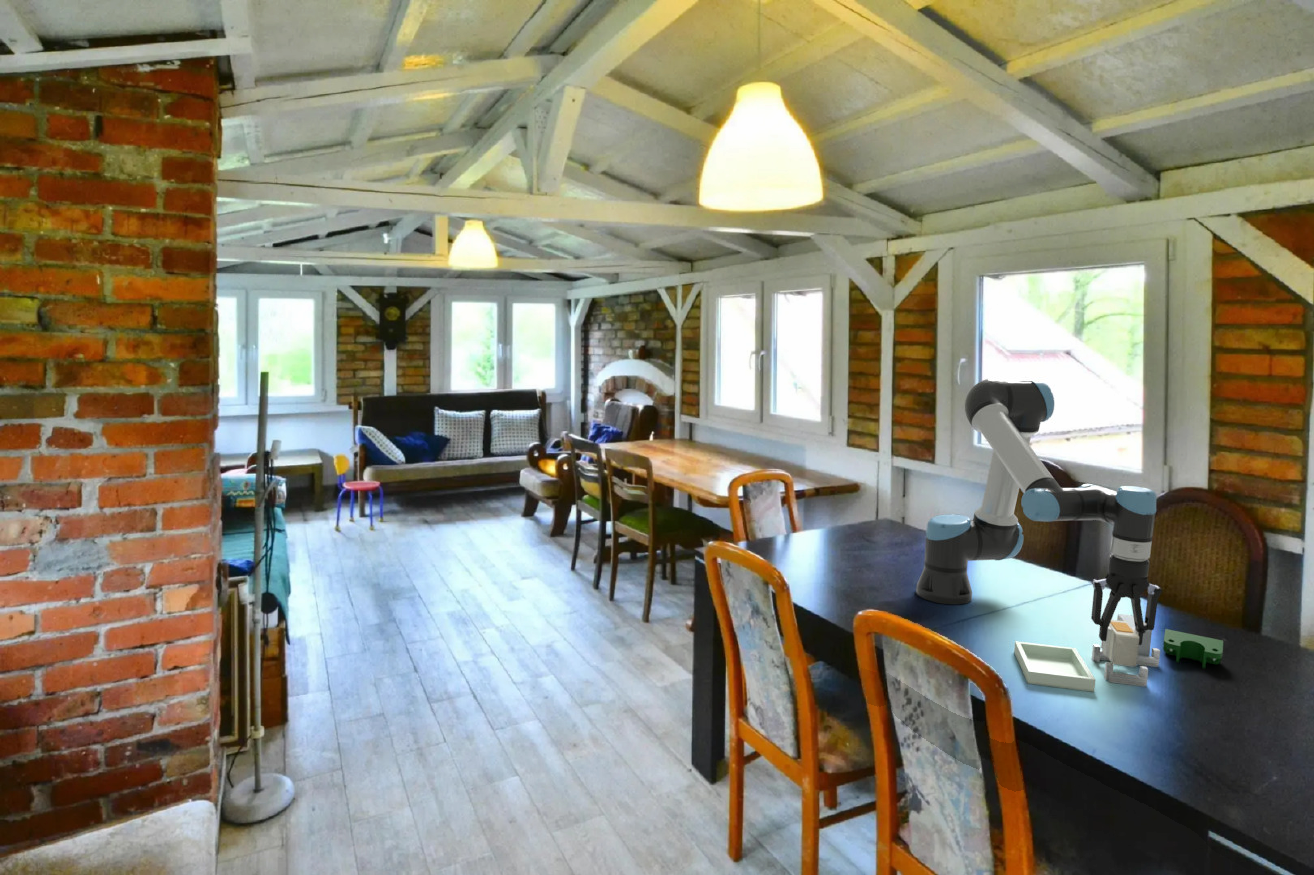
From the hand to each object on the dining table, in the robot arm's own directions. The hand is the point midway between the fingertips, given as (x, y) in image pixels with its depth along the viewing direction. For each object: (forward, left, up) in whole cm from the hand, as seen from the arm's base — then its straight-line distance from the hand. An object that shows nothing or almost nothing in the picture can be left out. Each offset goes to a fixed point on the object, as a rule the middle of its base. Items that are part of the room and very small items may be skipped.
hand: (1118, 655), depth 170 cm
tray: (-14, -5, -4) cm, 16 cm away
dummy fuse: (+6, +12, -4) cm, 14 cm away
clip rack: (+3, +6, -4) cm, 7 cm away
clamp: (+18, +11, -4) cm, 22 cm away
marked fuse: (0, 0, 0) cm, 0 cm away
